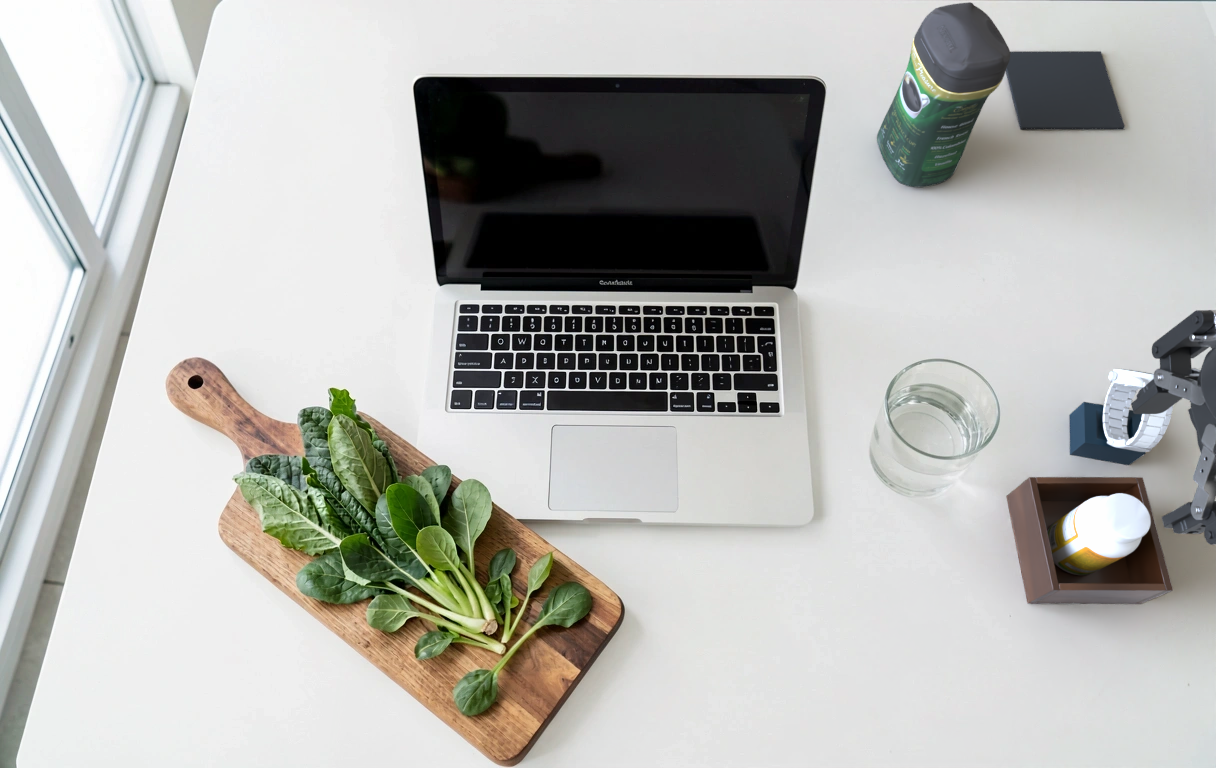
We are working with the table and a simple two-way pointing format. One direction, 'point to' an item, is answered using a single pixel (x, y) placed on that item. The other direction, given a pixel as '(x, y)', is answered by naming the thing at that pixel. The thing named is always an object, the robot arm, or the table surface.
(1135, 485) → the wooden box
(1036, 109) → the mat
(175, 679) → the table surface
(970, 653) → the table surface
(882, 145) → the coffee jar
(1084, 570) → the supplement bottle
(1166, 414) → the watch
